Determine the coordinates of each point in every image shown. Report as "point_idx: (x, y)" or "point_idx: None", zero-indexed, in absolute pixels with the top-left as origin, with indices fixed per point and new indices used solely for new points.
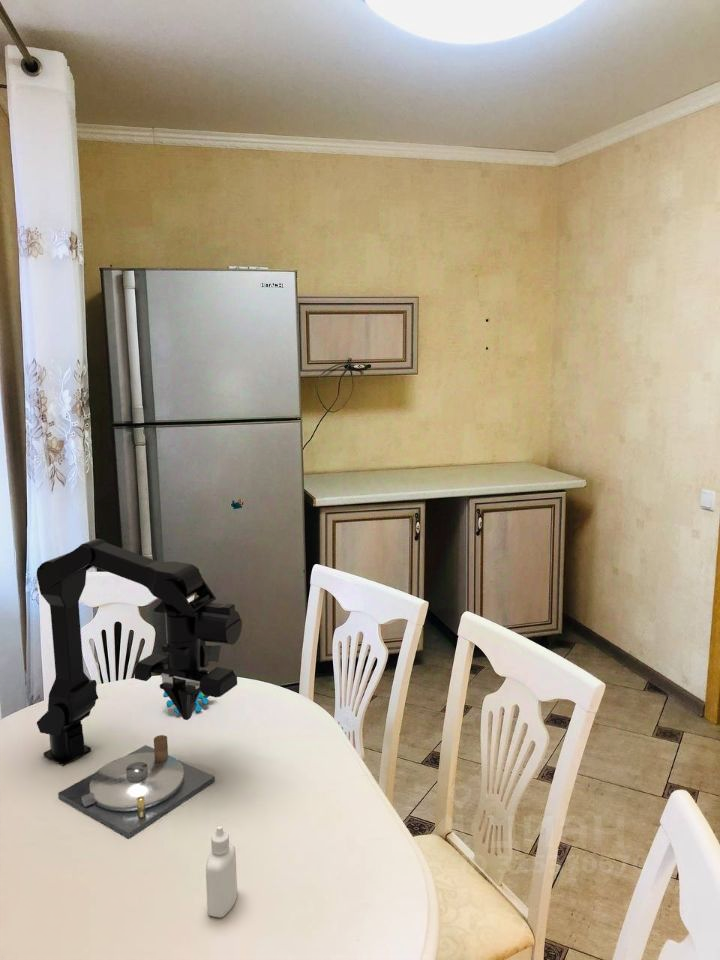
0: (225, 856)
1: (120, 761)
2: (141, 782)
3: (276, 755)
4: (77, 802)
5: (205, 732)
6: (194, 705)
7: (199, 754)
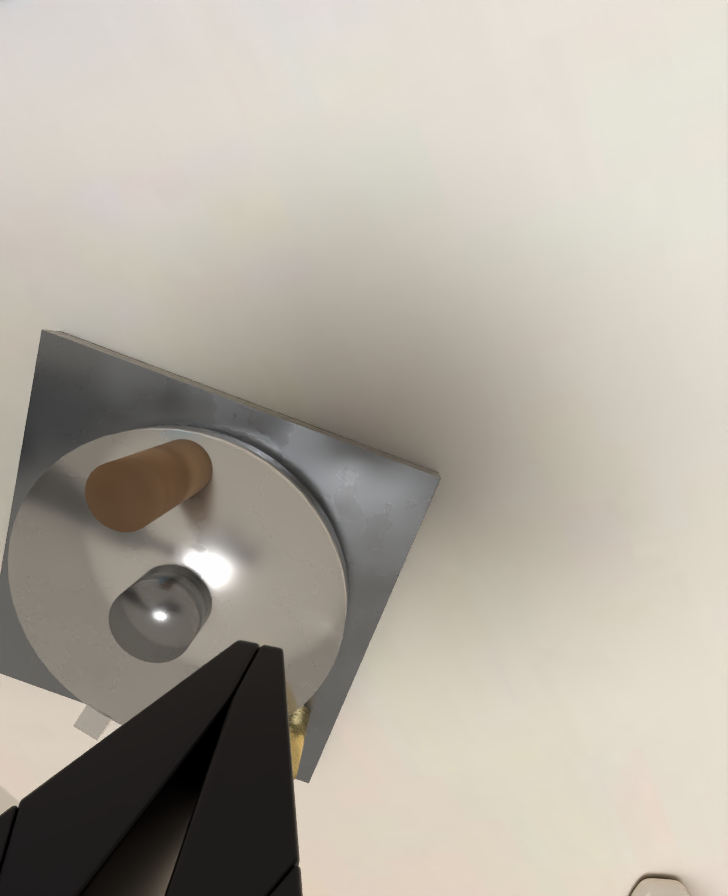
0: None
1: (43, 522)
2: (210, 627)
3: (640, 219)
4: (74, 695)
5: (221, 105)
6: (291, 775)
7: (290, 306)
